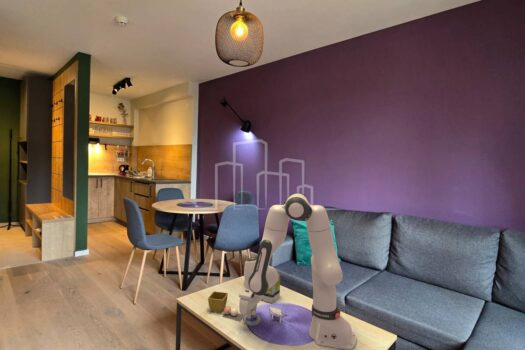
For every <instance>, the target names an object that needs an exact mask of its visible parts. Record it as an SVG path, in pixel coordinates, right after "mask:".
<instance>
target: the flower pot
mask: <svg viewBox="0 0 525 350" xmlns="http://www.w3.org/2000/svg"><path fill="white" fill-rule="evenodd" d="M228 294H229V293H228V292H223V291H214V290H213V292H212V293H210V295H209V296H208V298H207V301H208V308H209V310H210V311H211V312H212V313H213V312H215V313H219V314H220V313H221V314H222V313H223V312H224V308H225V307H227V306H226V305H227V302H228V297H229V296H228Z"/></svg>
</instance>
